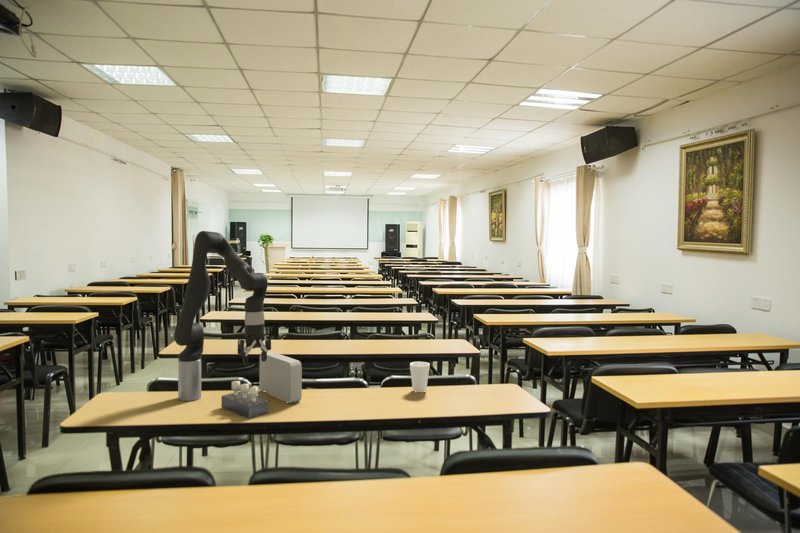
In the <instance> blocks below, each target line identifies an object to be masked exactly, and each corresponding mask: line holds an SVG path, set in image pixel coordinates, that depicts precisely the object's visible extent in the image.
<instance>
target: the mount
mask: <svg viewBox="0 0 800 533" xmlns="http://www.w3.org/2000/svg"><path fill="white" fill-rule="evenodd" d="M220 405H221V406H220V407H222V408H221V409H224V410H227V411H229V412H231V413H234V414H235V415H238V416H240V417H244V418H245V419H248V420H249V419H253V418H257V417H259V416H262V415H265V414H269V400H268V399H265V398H262V397H259V396H256V402H254V403H252V397H251V396H249V392H248V393H247V399H243V393H240V390H238V396H234V392H231V393H228V394H224V395H223V394H222V395H221V404H220Z"/></svg>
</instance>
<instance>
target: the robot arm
mask: <svg viewBox="0 0 800 533" xmlns="http://www.w3.org/2000/svg"><path fill="white" fill-rule="evenodd" d="M196 234H197V235H196V237H195V239H194V243H193V244H194V245H193V254H192V261H191V267H190V271H189V276H188V281H187V285H186V289H185V294H184V298H183V303H182V307H181V311H180V314H179V317H178V320H177V323H176V326H175V328H174V333H173V335H174V336H173V337H174V338H173V339H174V342H175V343H176V344H177V345H178V346H180V347H183V346H185V348H184V349H183V350H181V351H180V353H179V354H178V366H177V367H178V369H177V370H178V375H177V376H178V377H177V379H178V381H177V382H178V383H177V385H178V386H177V390H178V391H177V395H178V396H177V397H178V400H179V401H181V402H191V401H196V400H199V399H201V398H202V355H203V352H204V345H205V343H204V340H205V332H204V329H203V326H202V325H201V324H200V323H198V322H194V321H195V318H196V316H197V314H199V311H200V310H201V309H202V307H203V306H204V304H205V303H206V302H207V300H208V298H209V294H210V290H211V278H210V275H209V273H208V270H207V266H206V262H207V256H208V254H218V255H219V256H221V257H222V258H223V259H224V264H225V266H226V267H225V268H226V269H227V270H228V271H229V272H230V274H232V275H233V276H234V277H235V278H236V280H237V282H238V284H239V285H240V288H242V289H243V290H245V291H247V292H253V293H252V294H251V296H249V297H246V298H245V303H244V304H245V306H244V309H245V311H244V313H245V314H244V335H245V337H244V339H240V338H239V339H238V340H237V355H240V356H241V357H242V364H243V365H244V366H249V353H250V352H252V350H253V349H256V348H259V350H261V352H260V355H261V360H262V361H263V362H265V361H266V360H267V353H268V351H271V350H272V337H271V335H269V334H265V312H264V308H265V307H264V304H265V303H264V301H265V298H266V294H267V290H268V286H269V280H268V278H267V276H266V275H265V274H264V273H263V272H254V273H252V266H251V265H249V264H248V263H247V262H246V261H245V260H244V259H243V258H241V257H240V255H238V253H237V252H236V251H235V249H234V248H233V247H232V246H231V244H230V242H228V240H227V239H226V238H225V237H224V235H222V234H221V233H220V232H215V231H208V230H207V231H206V230H201V231H199V232H198V233H196ZM264 334H265V335H264Z"/></svg>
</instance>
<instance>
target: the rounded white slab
mask: <svg viewBox="0 0 800 533" xmlns="http://www.w3.org/2000/svg"><path fill="white" fill-rule="evenodd" d="M302 372H303V368H302V362H301V361H300V360H298V359H295V358H292V357H289V356H286V355H283V354H280V353H276V352H274V351H269V352H268V351H267V360H266V361H265V362H263V361H262V360H261V354H260V355H259V390H260V391H261V392H262V391H266V392H267V393H268V394H270V395H269V396H271V395H272V396H271V397H273V396H275V397H277V398H279V399H281V400H283V401H285V402H284V403H286V402H288V403H290V404H294V403H297V401H298V402H301V400H302V397H303V396H302V392H303V390H302V386H303V384H302V383H303V382H302V381H303V380H302V379H303V378H302V376H303V375H302V374H303V373H302ZM268 394H267V395H268ZM275 397H274V398H275ZM277 398H276V399H277ZM279 399H278V400H279ZM281 400H280V401H281ZM283 401H282V402H283ZM293 402H294V403H293ZM288 403H287V404H288Z"/></svg>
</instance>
